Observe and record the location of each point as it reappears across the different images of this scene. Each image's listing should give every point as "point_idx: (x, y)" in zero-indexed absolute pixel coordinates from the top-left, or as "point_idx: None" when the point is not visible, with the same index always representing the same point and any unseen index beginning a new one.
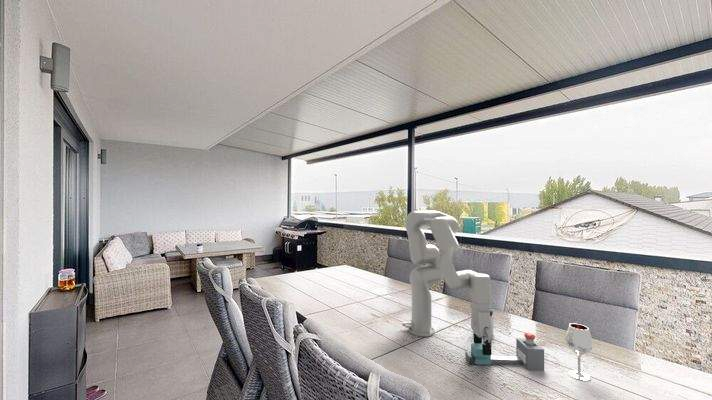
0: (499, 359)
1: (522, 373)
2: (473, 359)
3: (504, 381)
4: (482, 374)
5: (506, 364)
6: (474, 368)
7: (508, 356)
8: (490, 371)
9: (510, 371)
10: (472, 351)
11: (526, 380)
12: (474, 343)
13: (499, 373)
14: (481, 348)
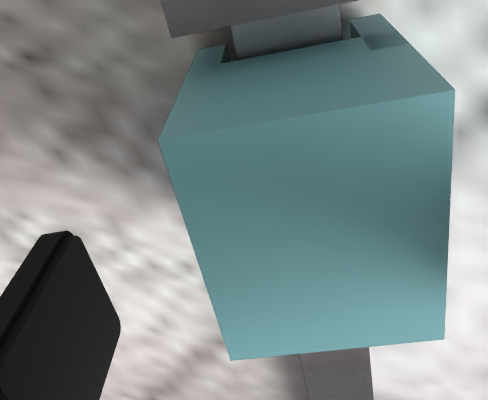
0: None
1: (194, 390)
2: (234, 43)
3: (3, 265)
4: (21, 100)
5: None
6: (119, 24)
7: (371, 396)
8: (126, 190)
9: (195, 333)
10: (319, 65)
11: (103, 388)
12: (440, 165)
13: (123, 255)
14: (233, 252)
